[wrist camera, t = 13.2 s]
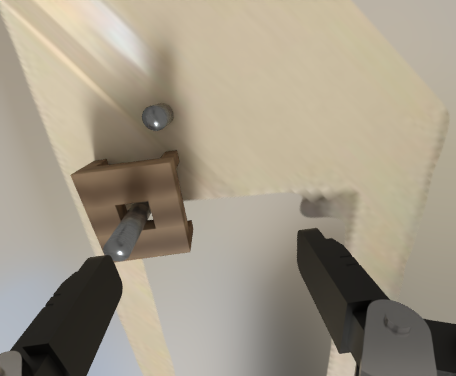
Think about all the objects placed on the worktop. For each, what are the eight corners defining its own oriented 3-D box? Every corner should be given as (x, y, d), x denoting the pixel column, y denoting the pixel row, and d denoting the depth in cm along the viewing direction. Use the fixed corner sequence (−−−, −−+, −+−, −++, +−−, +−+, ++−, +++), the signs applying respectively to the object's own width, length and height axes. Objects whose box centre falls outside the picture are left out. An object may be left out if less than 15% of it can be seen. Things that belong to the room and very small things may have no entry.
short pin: (150, 104, 35) (139, 107, 29) (171, 102, 35) (163, 104, 29) (155, 125, 36) (145, 132, 31) (175, 123, 36) (168, 129, 31)
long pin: (137, 190, 40) (99, 242, 27) (155, 188, 40) (126, 238, 27) (142, 206, 42) (108, 262, 28) (159, 203, 42) (133, 259, 28)
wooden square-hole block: (94, 160, 38) (70, 175, 31) (177, 150, 38) (170, 162, 31) (122, 238, 44) (107, 263, 38) (193, 228, 44) (190, 252, 38)
